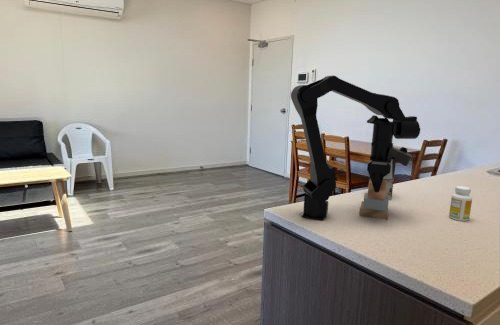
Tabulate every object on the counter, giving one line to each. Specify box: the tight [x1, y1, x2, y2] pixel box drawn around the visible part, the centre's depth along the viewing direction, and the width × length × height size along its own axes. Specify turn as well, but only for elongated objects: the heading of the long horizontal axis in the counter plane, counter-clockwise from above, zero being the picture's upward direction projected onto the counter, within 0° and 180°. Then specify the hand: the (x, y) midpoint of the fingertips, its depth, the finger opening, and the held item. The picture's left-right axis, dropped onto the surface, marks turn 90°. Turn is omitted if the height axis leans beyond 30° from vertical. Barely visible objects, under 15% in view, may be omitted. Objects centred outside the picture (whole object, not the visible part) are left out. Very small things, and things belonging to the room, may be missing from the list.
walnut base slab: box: [358, 200, 389, 221], centre depth 110 cm, size 8×8×3 cm
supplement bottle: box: [448, 185, 473, 222], centre depth 108 cm, size 5×5×10 cm
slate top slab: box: [363, 192, 389, 212], centre depth 110 cm, size 7×7×3 cm
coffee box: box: [383, 160, 397, 201], centre depth 129 cm, size 9×6×16 cm
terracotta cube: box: [367, 178, 387, 200], centre depth 109 cm, size 5×5×5 cm
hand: (377, 189), depth 109 cm, fingers open, 7 cm apart
